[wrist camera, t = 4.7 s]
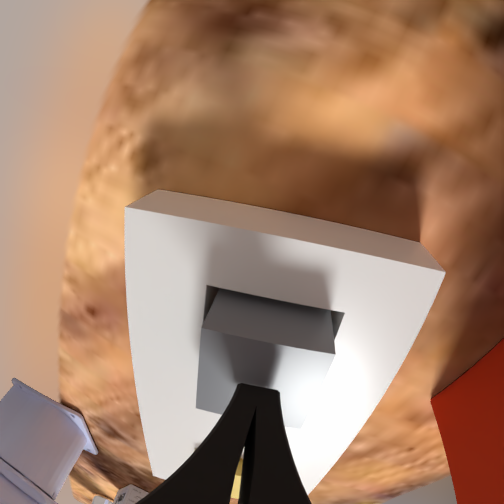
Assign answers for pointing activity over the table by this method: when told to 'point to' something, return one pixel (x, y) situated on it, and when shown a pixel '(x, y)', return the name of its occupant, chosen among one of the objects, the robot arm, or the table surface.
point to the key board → (275, 287)
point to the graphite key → (264, 352)
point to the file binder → (475, 430)
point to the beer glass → (101, 499)
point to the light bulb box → (129, 495)
